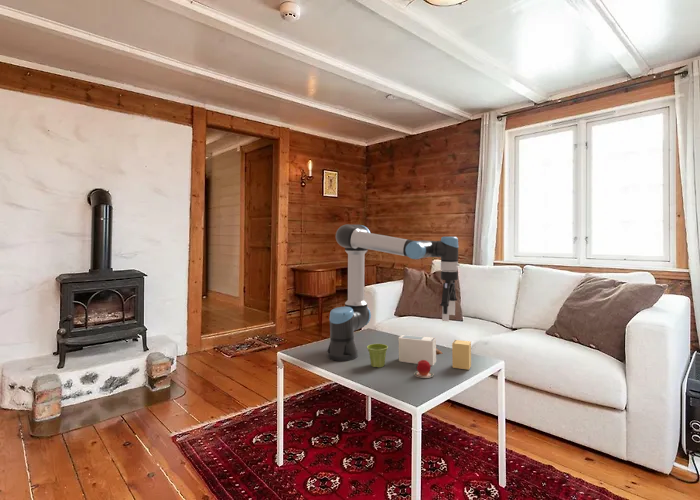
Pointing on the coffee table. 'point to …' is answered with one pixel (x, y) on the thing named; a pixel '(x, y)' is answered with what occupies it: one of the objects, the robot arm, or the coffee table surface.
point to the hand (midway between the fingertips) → (448, 317)
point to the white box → (417, 349)
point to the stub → (461, 354)
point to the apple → (423, 369)
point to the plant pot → (377, 354)
